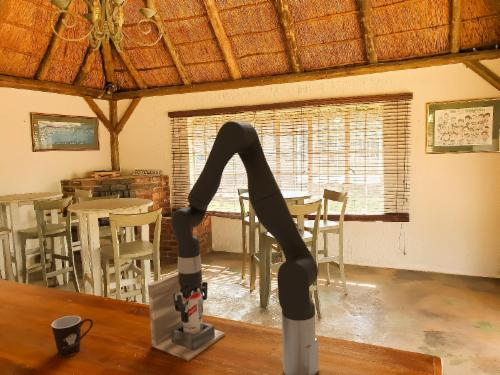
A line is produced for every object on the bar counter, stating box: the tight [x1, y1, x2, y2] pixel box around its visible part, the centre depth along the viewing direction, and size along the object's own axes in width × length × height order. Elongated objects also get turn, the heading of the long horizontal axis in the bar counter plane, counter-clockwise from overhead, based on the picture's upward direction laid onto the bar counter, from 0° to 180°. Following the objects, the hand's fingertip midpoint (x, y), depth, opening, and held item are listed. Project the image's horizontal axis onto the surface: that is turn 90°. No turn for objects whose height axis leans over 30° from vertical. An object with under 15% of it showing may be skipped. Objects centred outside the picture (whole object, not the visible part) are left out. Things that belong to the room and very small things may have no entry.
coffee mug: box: [50, 315, 94, 357], centre depth 126 cm, size 12×9×10 cm
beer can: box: [183, 290, 203, 336], centre depth 128 cm, size 6×6×16 cm
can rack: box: [147, 271, 226, 362], centre depth 129 cm, size 16×18×21 cm
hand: (192, 317), depth 128 cm, fingers closed on beer can, 6 cm apart
